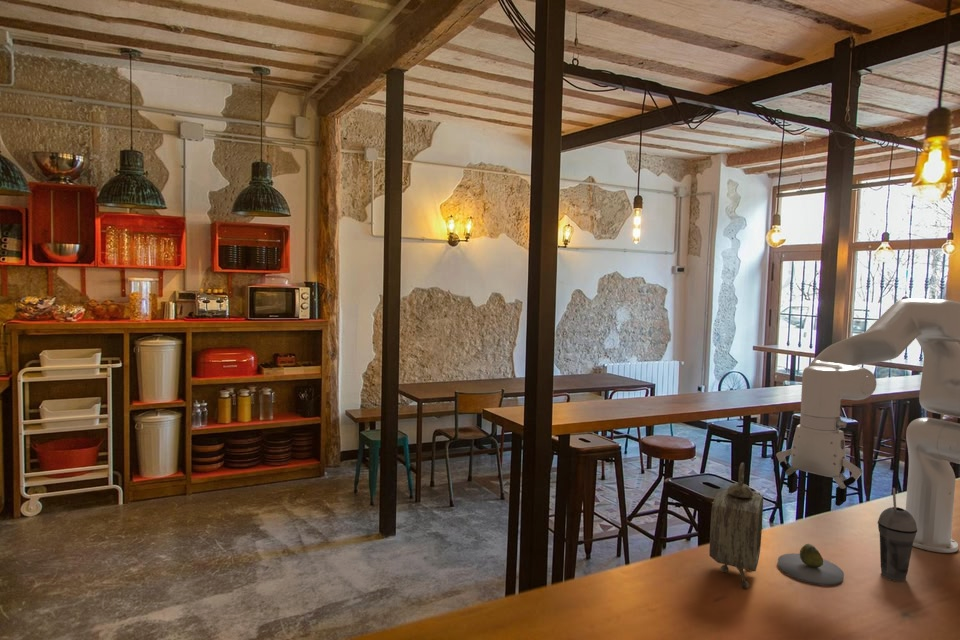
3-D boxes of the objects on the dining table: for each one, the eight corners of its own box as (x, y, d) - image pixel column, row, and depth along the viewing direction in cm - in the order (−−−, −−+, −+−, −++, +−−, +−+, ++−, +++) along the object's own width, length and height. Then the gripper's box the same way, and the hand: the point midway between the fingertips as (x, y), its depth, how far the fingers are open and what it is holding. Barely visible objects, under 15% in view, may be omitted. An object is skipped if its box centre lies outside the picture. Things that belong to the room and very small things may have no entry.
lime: (801, 559, 138) (802, 538, 138) (824, 566, 135) (826, 544, 134) (796, 566, 134) (798, 544, 134) (821, 573, 131) (822, 551, 131)
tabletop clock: (753, 595, 123) (759, 475, 122) (706, 583, 128) (712, 468, 126) (759, 567, 136) (765, 458, 134) (717, 557, 140) (722, 452, 139)
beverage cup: (920, 587, 129) (927, 495, 127) (882, 582, 130) (889, 492, 129) (903, 571, 136) (910, 484, 134) (868, 567, 137) (874, 481, 136)
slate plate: (791, 552, 144) (791, 548, 144) (852, 573, 134) (852, 568, 134) (767, 568, 135) (768, 564, 135) (831, 591, 125) (831, 587, 125)
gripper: (869, 427, 129) (865, 505, 130) (785, 413, 141) (782, 484, 143) (858, 433, 124) (853, 513, 125) (772, 417, 137) (768, 491, 138)
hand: (815, 497), depth 134 cm, fingers open, 9 cm apart
